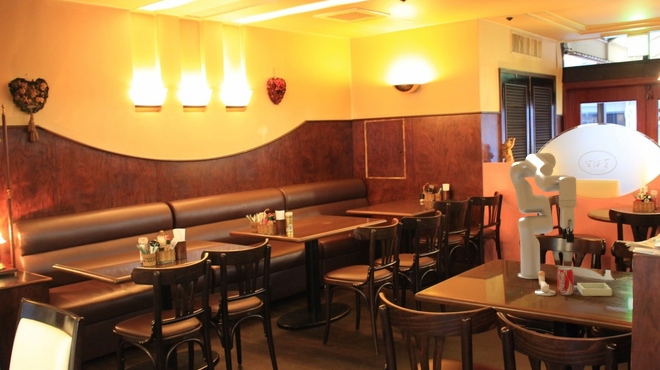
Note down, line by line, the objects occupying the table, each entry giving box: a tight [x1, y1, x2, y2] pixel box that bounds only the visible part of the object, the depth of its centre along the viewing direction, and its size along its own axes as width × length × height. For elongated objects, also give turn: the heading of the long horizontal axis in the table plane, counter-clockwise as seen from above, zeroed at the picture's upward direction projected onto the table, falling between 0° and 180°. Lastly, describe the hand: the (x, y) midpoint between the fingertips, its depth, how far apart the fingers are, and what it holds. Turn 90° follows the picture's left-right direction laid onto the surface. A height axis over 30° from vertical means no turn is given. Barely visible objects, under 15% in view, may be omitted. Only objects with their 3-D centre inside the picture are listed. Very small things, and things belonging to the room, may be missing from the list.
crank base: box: [534, 288, 556, 297], centre depth 294 cm, size 9×9×1 cm
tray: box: [576, 282, 613, 297], centre depth 293 cm, size 12×12×3 cm
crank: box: [538, 270, 550, 292], centre depth 299 cm, size 4×13×7 cm, turn 170°
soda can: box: [556, 266, 575, 296], centre depth 292 cm, size 7×7×12 cm
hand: (568, 240), depth 291 cm, fingers open, 9 cm apart
